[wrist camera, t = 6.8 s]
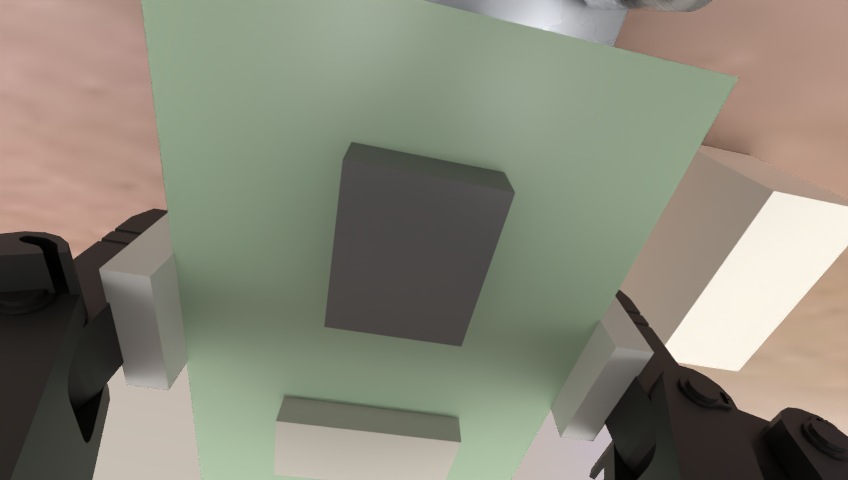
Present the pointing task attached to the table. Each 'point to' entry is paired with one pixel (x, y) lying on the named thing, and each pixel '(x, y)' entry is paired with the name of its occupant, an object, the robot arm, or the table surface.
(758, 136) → the table surface
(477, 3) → the chassis
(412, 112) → the board
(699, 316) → the block
